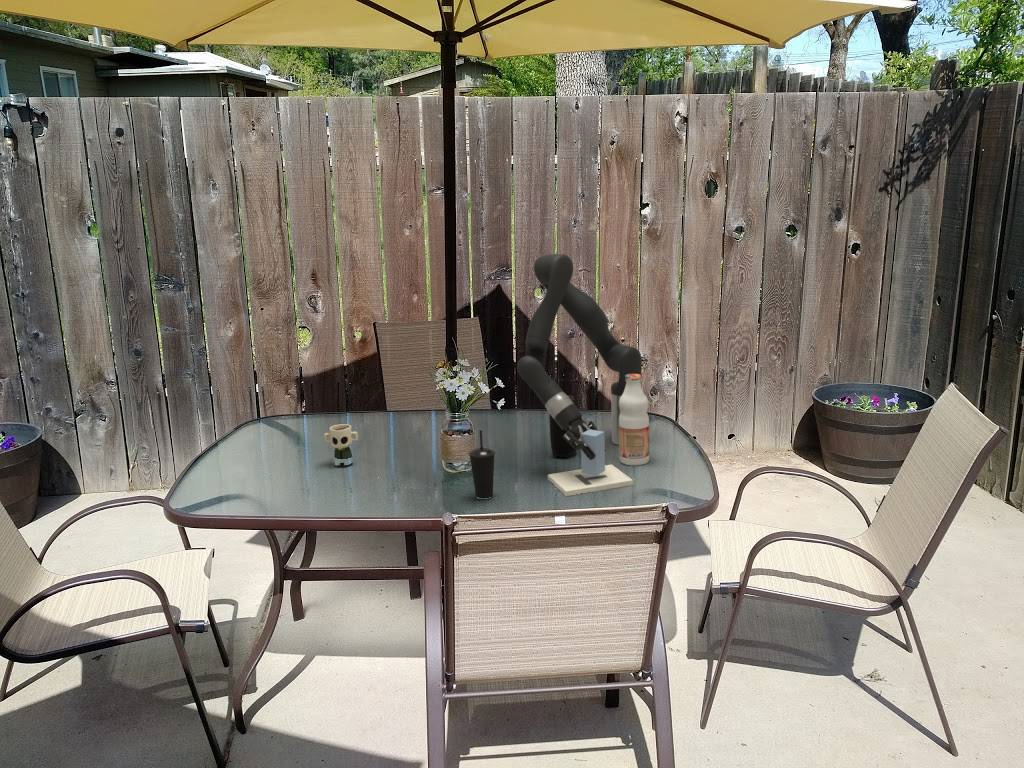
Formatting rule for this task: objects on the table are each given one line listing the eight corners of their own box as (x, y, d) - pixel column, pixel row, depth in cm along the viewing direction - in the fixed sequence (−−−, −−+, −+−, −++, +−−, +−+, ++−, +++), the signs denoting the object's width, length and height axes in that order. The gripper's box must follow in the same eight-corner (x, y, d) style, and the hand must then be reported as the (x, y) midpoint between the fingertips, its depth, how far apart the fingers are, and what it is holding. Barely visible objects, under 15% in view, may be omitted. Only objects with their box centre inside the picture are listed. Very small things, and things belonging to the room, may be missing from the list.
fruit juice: (613, 460, 259) (611, 375, 252) (635, 454, 264) (634, 370, 257) (633, 468, 252) (631, 380, 245) (655, 461, 257) (655, 375, 250)
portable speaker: (578, 450, 270) (576, 393, 266) (575, 460, 262) (574, 401, 257) (552, 450, 272) (550, 393, 267) (549, 459, 263) (547, 401, 258)
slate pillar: (590, 467, 244) (589, 429, 241) (605, 470, 241) (604, 431, 238) (581, 472, 240) (580, 433, 237) (596, 475, 237) (595, 436, 234)
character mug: (325, 469, 265) (321, 431, 261) (329, 462, 272) (325, 424, 268) (358, 467, 265) (354, 429, 261) (362, 460, 271) (358, 423, 268)
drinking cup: (474, 503, 230) (470, 436, 225) (468, 494, 237) (464, 428, 233) (500, 499, 232) (497, 432, 227) (494, 490, 239) (490, 425, 234)
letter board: (611, 468, 252) (611, 464, 252) (632, 485, 238) (632, 480, 238) (547, 479, 246) (547, 474, 246) (566, 496, 232) (565, 491, 232)
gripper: (556, 409, 235) (593, 455, 230) (583, 397, 246) (618, 441, 241) (542, 424, 239) (577, 469, 235) (569, 412, 250) (603, 455, 246)
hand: (598, 455), depth 238 cm, fingers closed on slate pillar, 5 cm apart
